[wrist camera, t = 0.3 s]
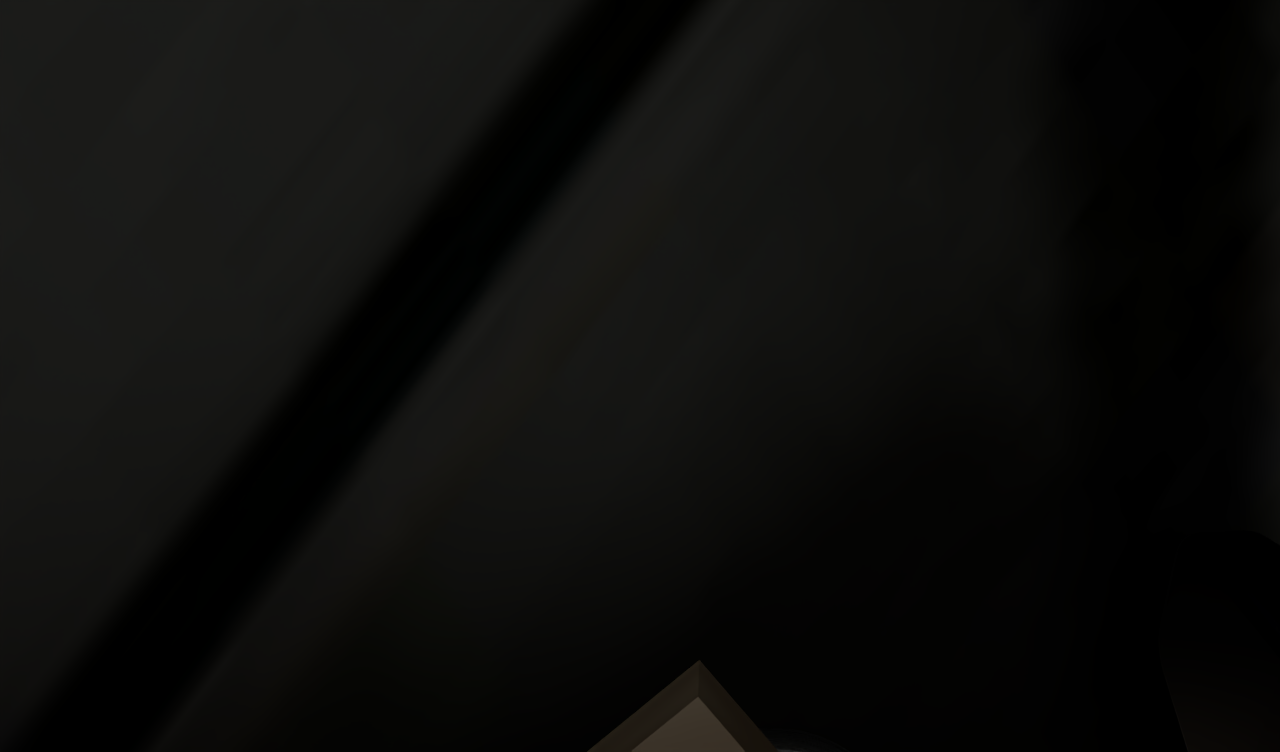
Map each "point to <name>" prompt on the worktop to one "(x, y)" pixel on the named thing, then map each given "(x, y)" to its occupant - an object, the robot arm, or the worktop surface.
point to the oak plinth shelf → (688, 721)
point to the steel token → (799, 741)
